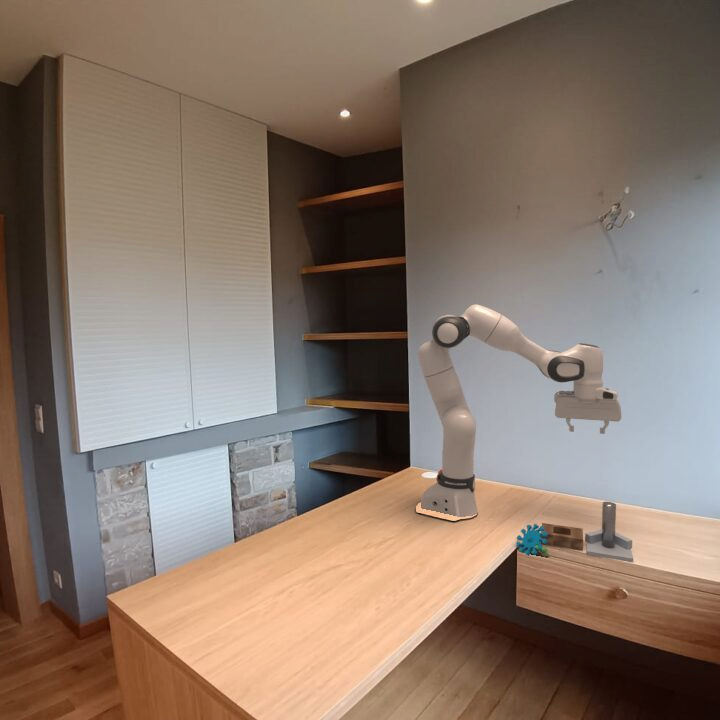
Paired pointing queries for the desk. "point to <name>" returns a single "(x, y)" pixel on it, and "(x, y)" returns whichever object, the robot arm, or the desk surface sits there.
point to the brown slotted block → (563, 536)
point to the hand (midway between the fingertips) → (586, 432)
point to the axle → (608, 524)
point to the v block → (619, 552)
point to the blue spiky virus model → (532, 540)
